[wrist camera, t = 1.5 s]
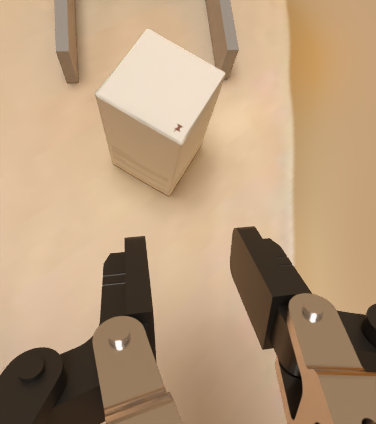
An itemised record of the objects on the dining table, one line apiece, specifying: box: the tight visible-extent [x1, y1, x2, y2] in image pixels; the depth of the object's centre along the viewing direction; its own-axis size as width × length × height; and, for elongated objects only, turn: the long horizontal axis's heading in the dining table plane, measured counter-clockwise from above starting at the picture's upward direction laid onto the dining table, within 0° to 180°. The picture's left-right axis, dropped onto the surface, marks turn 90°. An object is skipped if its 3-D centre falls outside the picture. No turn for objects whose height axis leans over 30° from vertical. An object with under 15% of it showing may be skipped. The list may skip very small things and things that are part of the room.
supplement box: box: [95, 28, 225, 196], centre depth 31 cm, size 7×7×13 cm
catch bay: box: [55, 0, 239, 83], centre depth 38 cm, size 15×18×5 cm
